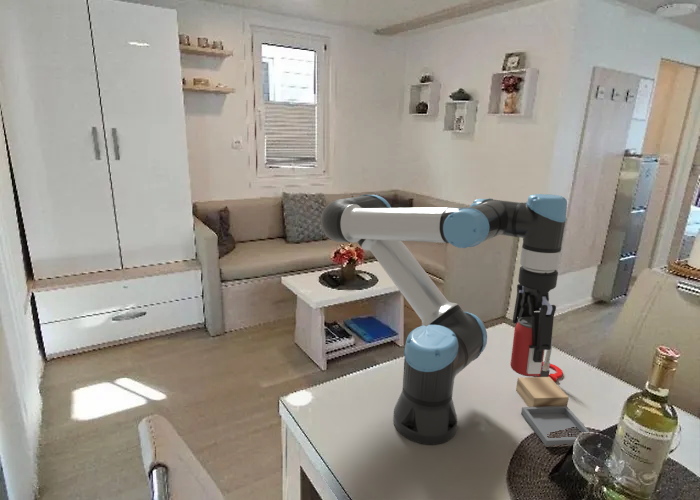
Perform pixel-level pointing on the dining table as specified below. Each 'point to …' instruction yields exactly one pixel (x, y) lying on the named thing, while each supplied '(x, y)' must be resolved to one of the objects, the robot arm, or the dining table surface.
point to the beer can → (522, 346)
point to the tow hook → (547, 365)
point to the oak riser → (541, 392)
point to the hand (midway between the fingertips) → (526, 364)
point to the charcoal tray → (552, 422)
